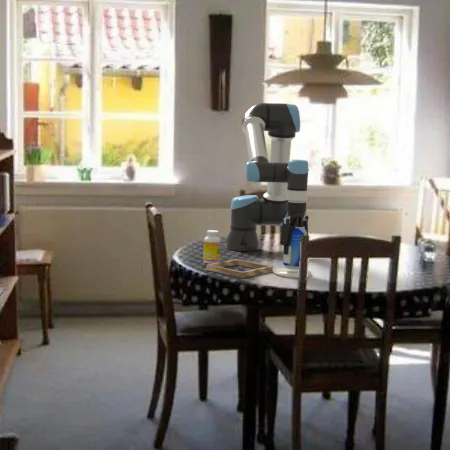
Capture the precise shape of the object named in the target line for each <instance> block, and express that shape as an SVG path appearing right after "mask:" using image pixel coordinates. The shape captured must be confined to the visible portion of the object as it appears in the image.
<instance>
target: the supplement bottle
mask: <svg viewBox="0 0 450 450" xmlns="http://www.w3.org/2000/svg"><path fill="white" fill-rule="evenodd" d="M221 243H222V241H221V237H219V230H215V229H214V230H213V229H210V230H209V229H208V230H207V231H206V236H205V237H204V239H203V257H202V258H203V259H202V261H203V263H204V264H206V263H207V264H206V265H208V264H213V263H219V262H221V246H222V245H221Z"/></svg>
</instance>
